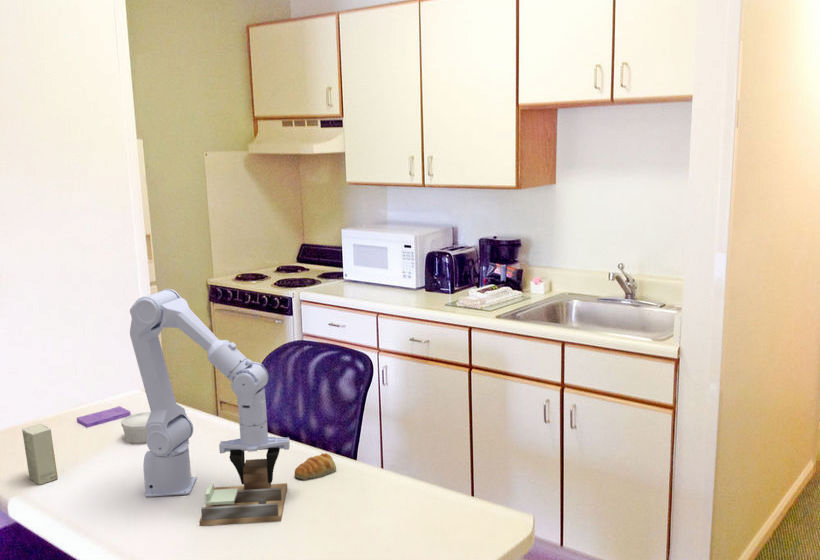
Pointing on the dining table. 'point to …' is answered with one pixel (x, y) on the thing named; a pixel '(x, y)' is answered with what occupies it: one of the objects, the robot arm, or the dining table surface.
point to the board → (247, 506)
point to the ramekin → (136, 427)
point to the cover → (220, 495)
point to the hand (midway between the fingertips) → (257, 481)
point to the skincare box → (40, 454)
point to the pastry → (315, 467)
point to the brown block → (256, 474)
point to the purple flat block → (103, 416)
